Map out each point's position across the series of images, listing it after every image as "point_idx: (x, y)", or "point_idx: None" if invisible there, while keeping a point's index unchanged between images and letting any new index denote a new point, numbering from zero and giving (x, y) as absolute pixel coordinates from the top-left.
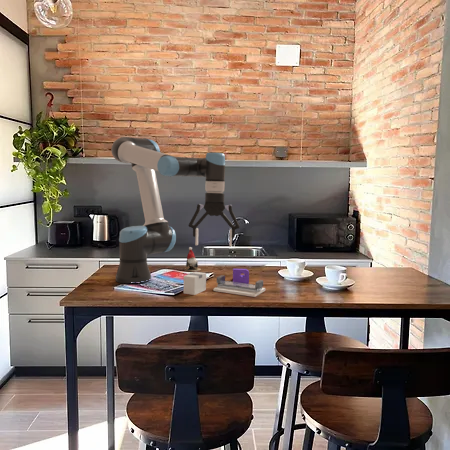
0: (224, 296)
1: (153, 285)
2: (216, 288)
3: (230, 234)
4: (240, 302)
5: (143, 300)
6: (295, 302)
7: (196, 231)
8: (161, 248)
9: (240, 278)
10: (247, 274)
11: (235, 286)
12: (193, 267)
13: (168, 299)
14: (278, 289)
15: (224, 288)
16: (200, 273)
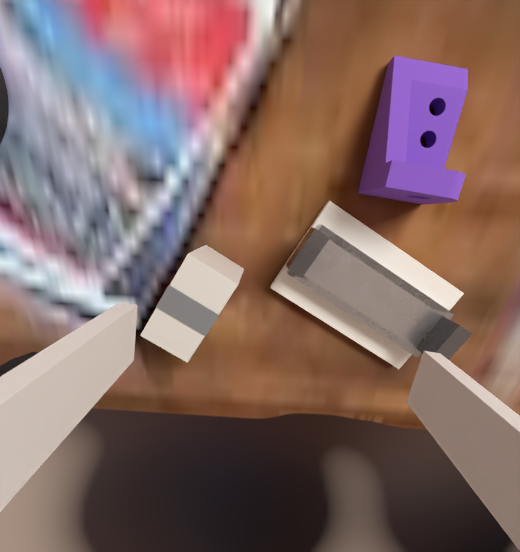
0: (299, 352)
1: (43, 193)
2: (281, 289)
3: (500, 515)
4: (336, 412)
5: None
6: None
7: (14, 475)
8: None
9: (401, 197)
10: (443, 200)
11: (350, 314)
12: None
13: (126, 372)
14: (512, 278)
15: (310, 291)
16: (212, 291)
